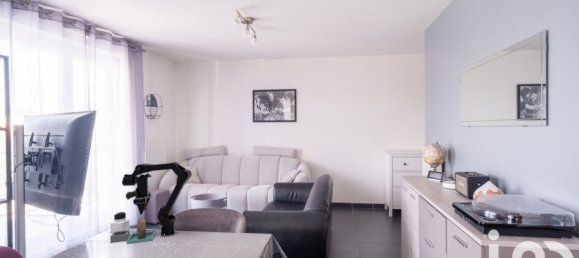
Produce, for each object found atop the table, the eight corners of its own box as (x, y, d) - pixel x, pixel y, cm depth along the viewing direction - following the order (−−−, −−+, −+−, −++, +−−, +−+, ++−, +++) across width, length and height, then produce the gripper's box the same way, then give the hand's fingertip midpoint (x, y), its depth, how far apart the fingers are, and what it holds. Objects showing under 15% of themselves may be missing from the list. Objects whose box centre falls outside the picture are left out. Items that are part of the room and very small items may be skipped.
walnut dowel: (146, 236, 159) (146, 218, 159) (145, 239, 155) (144, 220, 156) (138, 237, 158) (138, 219, 158) (136, 240, 154) (136, 221, 154)
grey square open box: (129, 238, 161) (129, 230, 161) (126, 242, 154) (126, 234, 154) (114, 239, 159) (114, 231, 159) (110, 244, 152) (110, 236, 152)
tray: (155, 235, 164) (155, 231, 164) (151, 242, 153) (151, 238, 153) (132, 238, 161) (131, 233, 161) (126, 246, 149) (126, 241, 149)
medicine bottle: (129, 231, 174) (129, 211, 174) (121, 235, 167) (121, 214, 167) (118, 230, 174) (118, 211, 175) (110, 235, 167) (109, 214, 167)
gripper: (130, 184, 173) (131, 209, 173) (122, 189, 155) (123, 218, 155) (150, 182, 176) (151, 208, 176) (145, 187, 159) (145, 215, 158)
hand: (142, 212), depth 166 cm, fingers open, 9 cm apart
